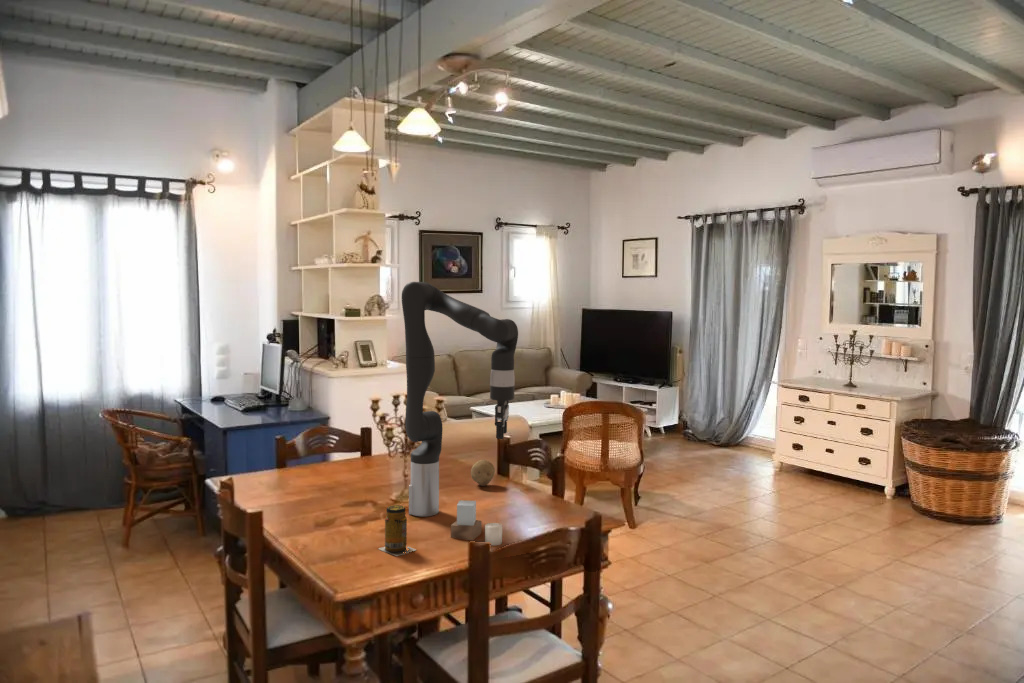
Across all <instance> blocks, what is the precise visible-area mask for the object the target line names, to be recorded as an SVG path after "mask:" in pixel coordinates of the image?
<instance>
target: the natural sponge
mask: <svg viewBox="0 0 1024 683" xmlns="http://www.w3.org/2000/svg"><path fill="white" fill-rule="evenodd" d="M495 471H496V470H495V465H493V463H492V462H491V461H490V460H486V459H479V460H477V461H476V462H475V463H474V464H473V465H472V467H471V469H470V476H471V479H472V480H473V481H474V482H476V483H477V484H478V485H479V486H481V487H486V486H487V485H489V483H490V482H491V481H492V480H493V479H494V476H495Z"/></svg>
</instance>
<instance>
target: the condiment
mask: <svg viewBox="0 0 1024 683" xmlns="http://www.w3.org/2000/svg"><path fill="white" fill-rule="evenodd" d="M407 521H408V519H407V516H406V506H404V505H398V504H396V505H390V506H387V508H386V516H385V519H384V546H382V547H379V548H377V549H378V550H379V551H382V552H384V553H387V554H390V555H392V556H395V557H398V556H402V555H406V554H410V553H411V552H412V551H413V552H414V551H417V549H416V548H413V547H411V546H408V547H407V548H408V549H409V550H408V551H407V550H406V546H407V541H408V540H407V539H408V538H407V535H408V533H407V530H408V527H407V526H408V523H407ZM405 550H406V551H405ZM403 552H404V553H403ZM405 552H406V554H405ZM409 552H410V553H409ZM413 552H412V553H413Z"/></svg>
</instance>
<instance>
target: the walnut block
mask: <svg viewBox="0 0 1024 683" xmlns="http://www.w3.org/2000/svg"><path fill="white" fill-rule="evenodd" d="M480 535H482V520H478V519H476V521H475V523H474V526H470V525H457V520H455V521H454V522H453V523H452V524H451V525H450V538H452V539H458V540H465V541H466V540H467V541H474V540H475V539H476V538H478V537H479V536H480Z"/></svg>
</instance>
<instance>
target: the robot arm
mask: <svg viewBox="0 0 1024 683" xmlns="http://www.w3.org/2000/svg"><path fill="white" fill-rule="evenodd" d="M401 306H402V313H403V321H404V334H405V335H404V337H405V372H406V405H405V406H406V407H405V424H404V426H405V432H406V436H407V437H408V439H409V440H410V441H411V442H412V443H413V442H414V443H420V442H421V443H420V444H419V445H418V446H417V447H416V448H415V449H414V450H412V451H411V453H410V484H409V485H408V515H413V516H416V517H432V516H435V515H438V514H439V512H440V510H439V509H440V456H441V453H442V448H443V447H442V446H443V444H442V443H443V421H442V418H441V416H440V414H439V413H438V412H437V411H434V410H429V411H428V410H427V411H424V399H425V396H426V393H427V391H428V388H429V386H430V385H431V382H432V380H433V378H434V374H435V369H436V362H435V349H434V346H433V344H432V341H431V338H430V336H429V333H428V330H427V328H426V321H425V320H426V318H425V317H426V316H425V313H426V312H425V311H431V312H436V313H439V314H442V315H444V316H446V317H448V318H450V319H451V320H453V321H454V322H455V323H457V324H458V325H460V326H462V327H464V328H466V329H468V330H471V331H473V332H477V333H479V334H480V335H481V336H482V337H484V338H486V339H487V340H489V341H491V342H494V343H496V347H495V349H494V350H493V351H492V353H491V358H490V359H491V360H490V361H491V363H490V367H491V368H490V377H489V378H490V379H489V380H490V381H489V399H490V400H492V401H497V402H496V405H495V406H494V411H495V412H494V426H495V427H496V428H495V429H496V431H495V436H496V440H503V439H504V436H505V435H504V434H507V433H508V420H509V418H510V417H509V415H510V414H509V413H510V412H509V411H510V405H509V402H510V401H513V400H514V399H515V380H516V379H515V353H516V350H517V344H518V339H519V328H518V325H517V324H516V322H515V321H514V320H512V319H509V318H505V319H499V318H496V317H494V316H491V315H490V314H489V312H487V311H486V310H483V309H481V308H479V307H476V306H473V305H472V304H468V303H466V302H464V301H461V300H458V299H456V298H454V297H452V296H451V295H448V294H447V293H445V292H443V291H442V290H440V289H439V288H438V287H436V286H434V285H432V284H431V283H429V282H425V281H424V282H423V281H409V282H407V283H406V284H405V285H404V286H403V289H402V291H401Z"/></svg>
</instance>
